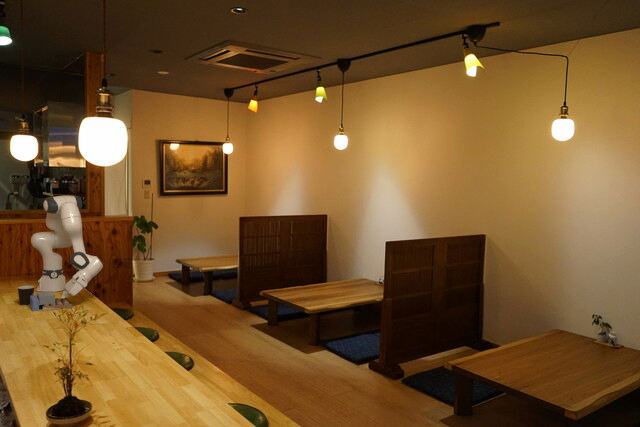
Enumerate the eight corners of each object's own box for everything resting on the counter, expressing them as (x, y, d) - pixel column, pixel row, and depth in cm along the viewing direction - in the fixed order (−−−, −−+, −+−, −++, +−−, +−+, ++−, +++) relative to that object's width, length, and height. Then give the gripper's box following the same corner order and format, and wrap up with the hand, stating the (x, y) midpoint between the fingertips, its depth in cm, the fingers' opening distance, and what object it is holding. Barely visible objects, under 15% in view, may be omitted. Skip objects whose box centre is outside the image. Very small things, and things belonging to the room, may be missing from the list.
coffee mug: (28, 306, 292) (28, 289, 291) (14, 305, 292) (14, 288, 291) (40, 301, 303) (40, 285, 303) (26, 300, 303) (26, 284, 303)
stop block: (29, 305, 292) (30, 295, 292) (35, 305, 294) (35, 295, 294) (32, 311, 281) (32, 300, 281) (38, 310, 283) (39, 300, 282)
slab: (36, 300, 293) (36, 292, 293) (52, 299, 298) (52, 290, 298) (39, 305, 284) (39, 296, 283) (55, 303, 288) (55, 295, 288)
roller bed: (38, 304, 297) (38, 299, 296) (66, 301, 305) (66, 296, 305) (42, 311, 282) (42, 305, 282) (72, 308, 291) (72, 303, 291)
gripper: (73, 273, 308) (55, 290, 302) (79, 279, 291) (60, 297, 286) (80, 280, 310) (63, 297, 305) (87, 286, 294) (68, 304, 289)
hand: (61, 297), depth 295 cm, fingers closed
